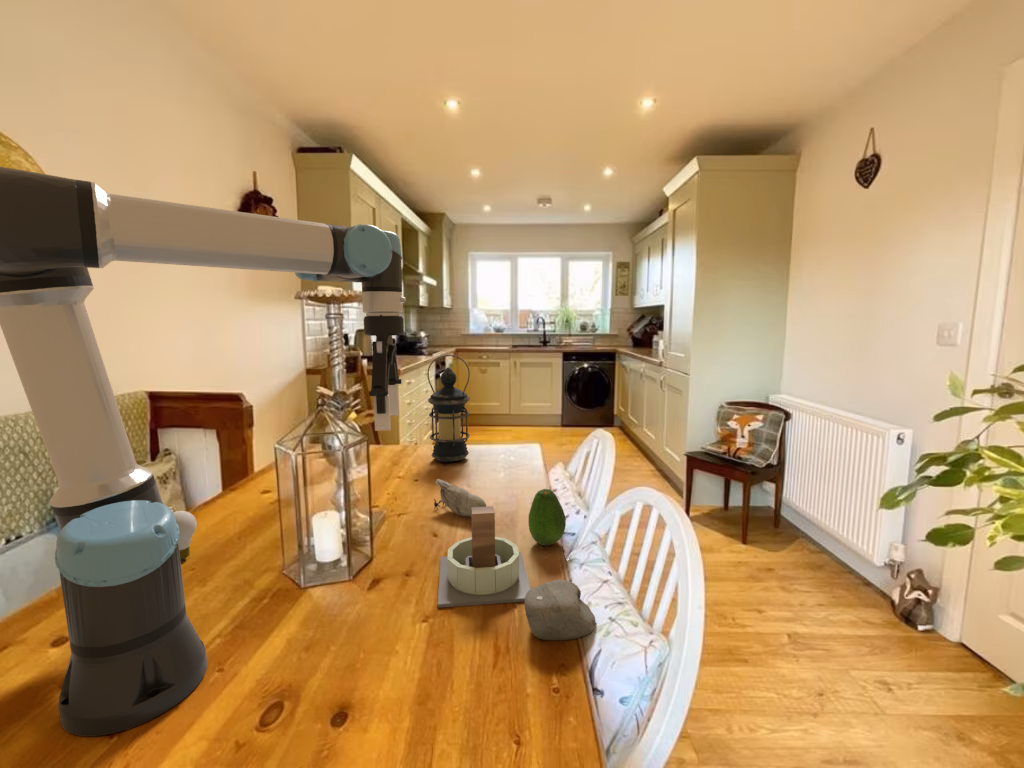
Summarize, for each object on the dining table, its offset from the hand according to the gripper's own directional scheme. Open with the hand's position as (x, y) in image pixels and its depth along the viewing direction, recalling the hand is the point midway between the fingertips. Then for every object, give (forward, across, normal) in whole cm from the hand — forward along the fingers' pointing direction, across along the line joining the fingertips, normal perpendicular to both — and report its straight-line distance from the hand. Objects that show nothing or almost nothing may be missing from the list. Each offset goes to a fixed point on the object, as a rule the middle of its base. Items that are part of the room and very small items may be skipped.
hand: (387, 422), depth 97 cm
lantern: (+27, +61, -11) cm, 68 cm away
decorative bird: (+27, +16, -14) cm, 34 cm away
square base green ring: (+27, -14, -18) cm, 35 cm away
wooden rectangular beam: (+26, -14, -18) cm, 34 cm away
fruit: (+27, -2, -32) cm, 42 cm away
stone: (+27, -29, -29) cm, 49 cm away
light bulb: (+27, 0, +41) cm, 49 cm away
